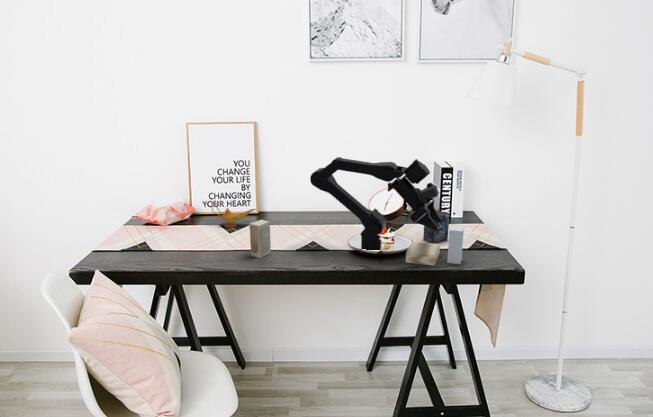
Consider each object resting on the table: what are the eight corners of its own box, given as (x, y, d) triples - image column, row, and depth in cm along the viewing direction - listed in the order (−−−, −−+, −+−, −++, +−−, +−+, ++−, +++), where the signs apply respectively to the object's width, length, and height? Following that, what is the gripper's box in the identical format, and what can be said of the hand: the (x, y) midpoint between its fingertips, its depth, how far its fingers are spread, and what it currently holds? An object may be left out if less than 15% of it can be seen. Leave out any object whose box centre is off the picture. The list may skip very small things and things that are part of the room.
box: (433, 244, 232) (434, 217, 229) (422, 240, 237) (424, 213, 234) (448, 240, 237) (449, 214, 234) (437, 236, 241) (439, 210, 238)
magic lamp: (256, 227, 251) (255, 201, 247) (211, 228, 249) (210, 202, 246) (257, 222, 257) (256, 196, 254) (213, 223, 256) (212, 197, 253)
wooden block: (405, 263, 215) (406, 252, 214) (411, 251, 226) (412, 241, 225) (434, 266, 212) (435, 255, 211) (439, 254, 223) (440, 244, 222)
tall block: (447, 262, 215) (449, 230, 211) (448, 258, 219) (450, 226, 215) (460, 264, 213) (462, 231, 210) (461, 259, 217) (463, 227, 214)
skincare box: (262, 250, 225) (261, 218, 221) (271, 253, 222) (270, 221, 219) (250, 255, 220) (248, 223, 217) (258, 258, 218) (257, 225, 214)
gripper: (421, 183, 202) (453, 219, 202) (429, 171, 219) (458, 203, 219) (396, 205, 207) (428, 239, 207) (406, 191, 224) (435, 222, 224)
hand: (438, 225), depth 214 cm, fingers open, 9 cm apart
